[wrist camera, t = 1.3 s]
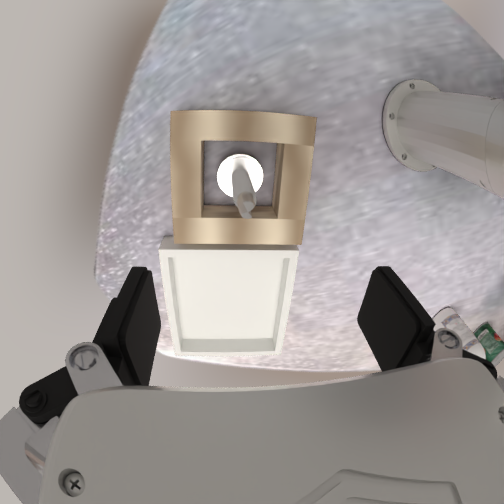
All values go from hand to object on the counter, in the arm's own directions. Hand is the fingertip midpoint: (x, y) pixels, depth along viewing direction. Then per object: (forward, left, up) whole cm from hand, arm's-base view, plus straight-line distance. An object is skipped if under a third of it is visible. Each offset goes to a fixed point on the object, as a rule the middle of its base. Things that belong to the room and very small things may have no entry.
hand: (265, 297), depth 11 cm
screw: (0, 0, -22) cm, 22 cm away
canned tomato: (-66, +35, -22) cm, 78 cm away
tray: (+1, +17, -22) cm, 28 cm away
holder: (0, 0, -22) cm, 22 cm away
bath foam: (-43, +26, -22) cm, 55 cm away
